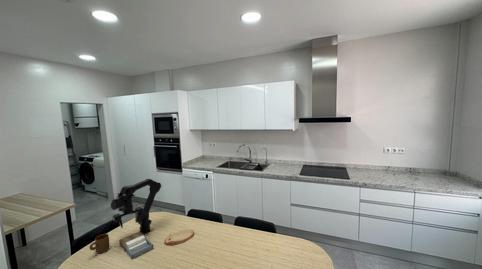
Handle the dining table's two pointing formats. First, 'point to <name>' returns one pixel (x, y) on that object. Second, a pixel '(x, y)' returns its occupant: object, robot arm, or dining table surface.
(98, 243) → the mug
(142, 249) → the tray
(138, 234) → the board
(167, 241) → the slice of bread
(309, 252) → the dining table surface
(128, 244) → the tile
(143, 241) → the tile
